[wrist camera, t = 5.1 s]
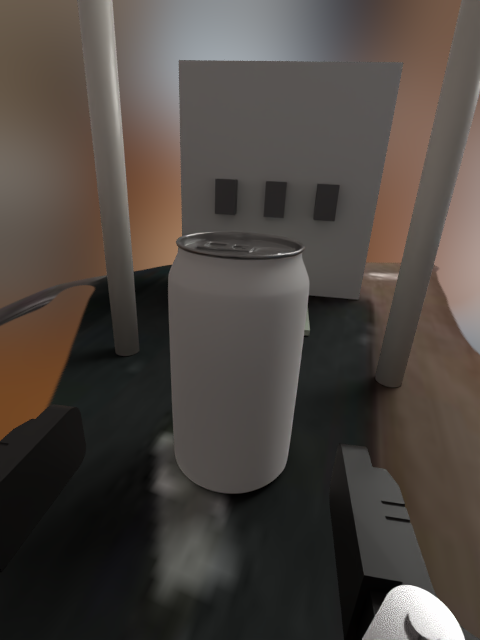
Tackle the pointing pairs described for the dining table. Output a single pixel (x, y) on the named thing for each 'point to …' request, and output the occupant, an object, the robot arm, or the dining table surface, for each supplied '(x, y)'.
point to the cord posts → (428, 215)
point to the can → (235, 355)
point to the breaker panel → (288, 156)
